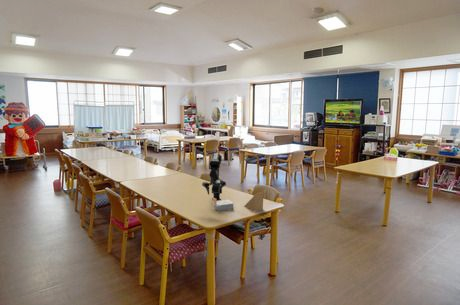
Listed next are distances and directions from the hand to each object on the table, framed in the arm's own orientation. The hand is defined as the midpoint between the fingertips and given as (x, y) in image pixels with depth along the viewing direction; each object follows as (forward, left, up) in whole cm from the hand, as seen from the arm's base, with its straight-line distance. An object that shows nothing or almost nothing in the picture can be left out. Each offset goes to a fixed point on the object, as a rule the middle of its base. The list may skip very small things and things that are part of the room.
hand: (214, 194), depth 248 cm
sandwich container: (+10, +32, -13) cm, 35 cm away
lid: (+1, +7, -8) cm, 11 cm away
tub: (+1, +8, -13) cm, 15 cm away
